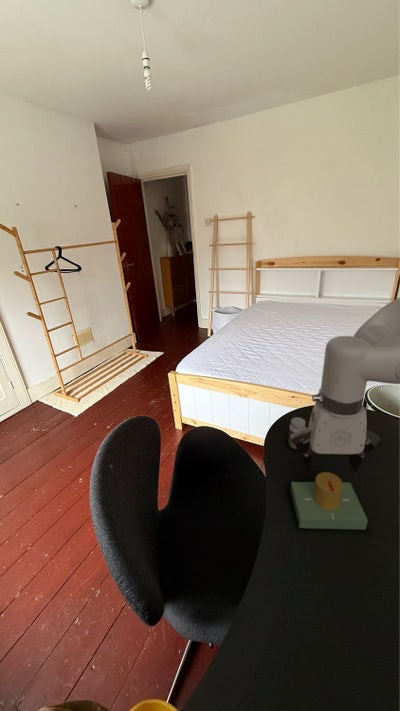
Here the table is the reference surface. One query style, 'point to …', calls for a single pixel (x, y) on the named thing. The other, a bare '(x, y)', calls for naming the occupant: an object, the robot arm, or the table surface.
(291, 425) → the pill bottle
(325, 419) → the robot arm
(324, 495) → the dial
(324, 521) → the control panel
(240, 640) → the table surface
